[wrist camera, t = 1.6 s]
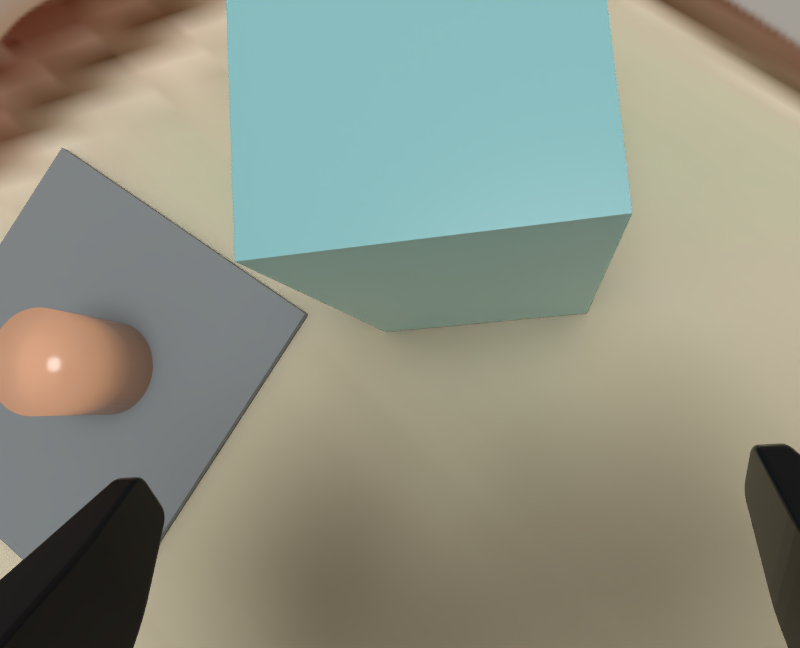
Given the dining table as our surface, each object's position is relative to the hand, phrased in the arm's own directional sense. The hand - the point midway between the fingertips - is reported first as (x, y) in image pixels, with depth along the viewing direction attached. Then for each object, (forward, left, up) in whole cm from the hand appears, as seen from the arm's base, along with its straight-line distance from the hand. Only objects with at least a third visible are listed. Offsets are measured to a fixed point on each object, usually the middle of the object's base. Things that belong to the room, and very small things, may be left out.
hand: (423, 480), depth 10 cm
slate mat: (-7, +15, -13) cm, 21 cm away
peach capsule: (-6, +14, -13) cm, 20 cm away
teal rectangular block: (+6, +5, -13) cm, 15 cm away
